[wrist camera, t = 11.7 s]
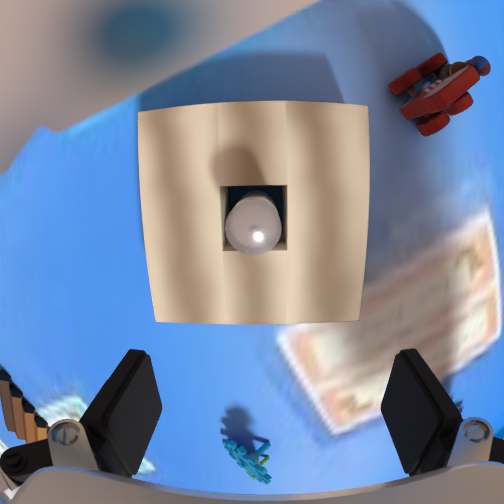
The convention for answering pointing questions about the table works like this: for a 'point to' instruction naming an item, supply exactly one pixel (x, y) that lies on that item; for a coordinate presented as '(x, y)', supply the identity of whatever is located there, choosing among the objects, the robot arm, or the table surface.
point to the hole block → (255, 173)
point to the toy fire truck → (439, 90)
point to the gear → (250, 460)
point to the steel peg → (254, 224)
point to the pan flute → (20, 413)
